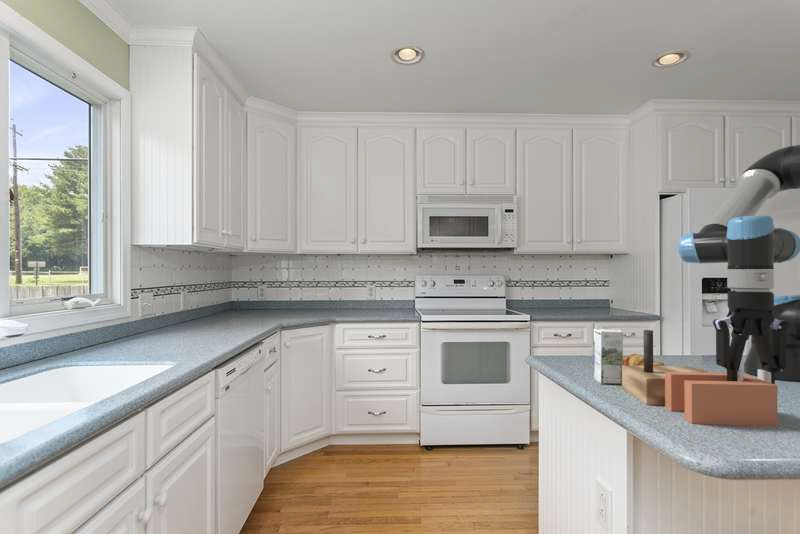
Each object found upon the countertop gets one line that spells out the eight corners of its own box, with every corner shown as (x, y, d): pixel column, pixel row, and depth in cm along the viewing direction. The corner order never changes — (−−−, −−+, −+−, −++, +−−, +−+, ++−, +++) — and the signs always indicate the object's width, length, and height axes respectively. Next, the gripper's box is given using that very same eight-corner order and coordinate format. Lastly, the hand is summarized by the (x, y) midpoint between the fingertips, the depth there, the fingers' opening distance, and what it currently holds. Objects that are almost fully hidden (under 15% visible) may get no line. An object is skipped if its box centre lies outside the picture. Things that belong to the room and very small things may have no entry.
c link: (741, 409, 94) (741, 372, 94) (777, 426, 84) (777, 385, 84) (665, 407, 95) (665, 371, 95) (691, 423, 85) (691, 383, 85)
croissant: (686, 397, 114) (693, 369, 116) (670, 384, 109) (678, 355, 111) (610, 378, 132) (617, 354, 134) (593, 367, 127) (601, 342, 129)
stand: (695, 390, 108) (695, 327, 108) (730, 406, 95) (730, 335, 95) (621, 388, 110) (621, 326, 110) (646, 404, 97) (646, 334, 97)
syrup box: (614, 379, 119) (614, 327, 119) (623, 385, 113) (623, 330, 113) (593, 378, 120) (593, 327, 120) (601, 384, 114) (600, 330, 114)
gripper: (716, 291, 86) (717, 406, 86) (811, 291, 84) (812, 408, 84) (694, 289, 94) (694, 395, 93) (781, 289, 92) (781, 397, 92)
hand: (750, 401), depth 89 cm, fingers open, 5 cm apart
